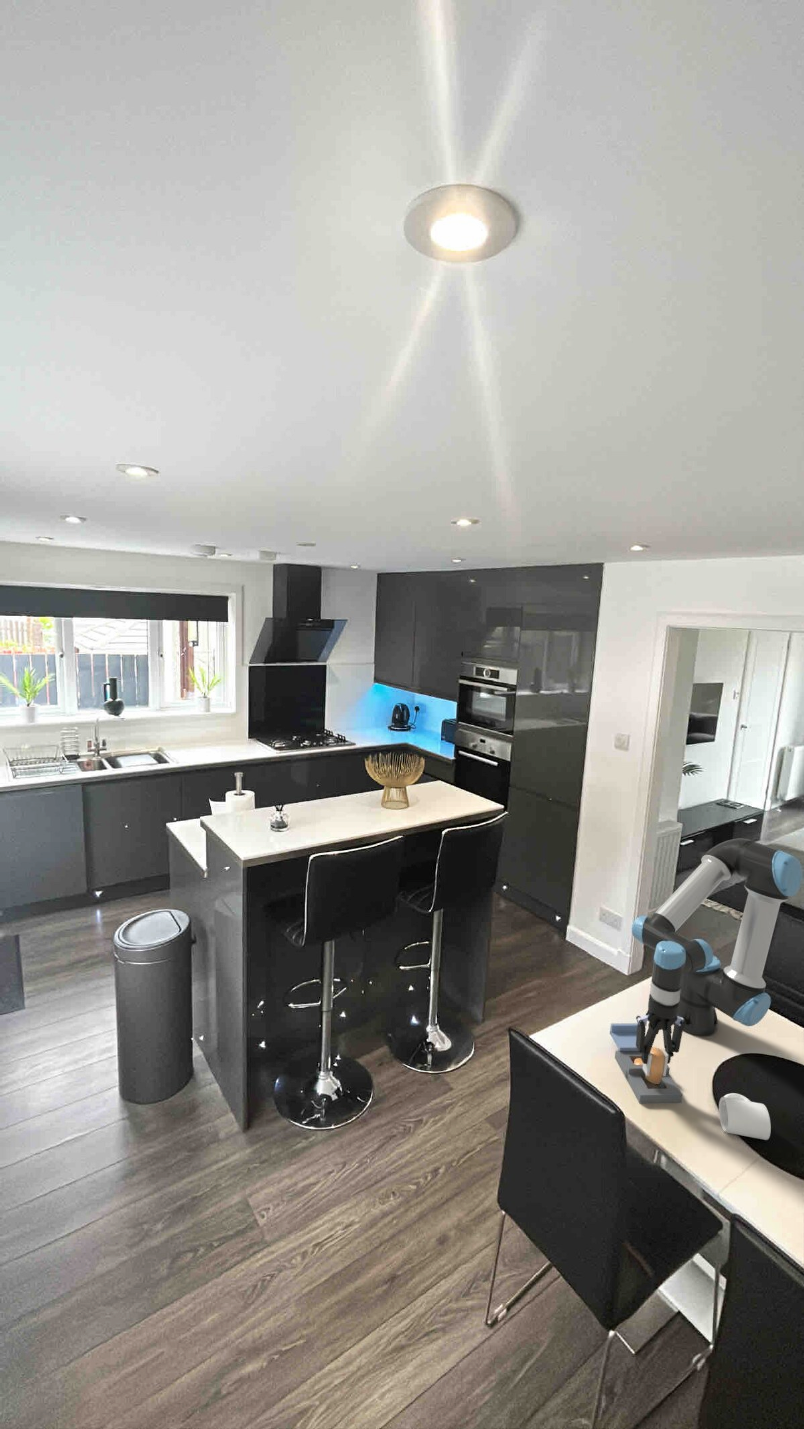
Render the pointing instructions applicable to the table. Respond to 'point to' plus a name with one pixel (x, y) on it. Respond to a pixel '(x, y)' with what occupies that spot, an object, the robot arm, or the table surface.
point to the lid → (624, 1035)
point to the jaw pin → (656, 1066)
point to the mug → (744, 1117)
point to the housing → (637, 1078)
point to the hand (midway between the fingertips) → (654, 1072)
